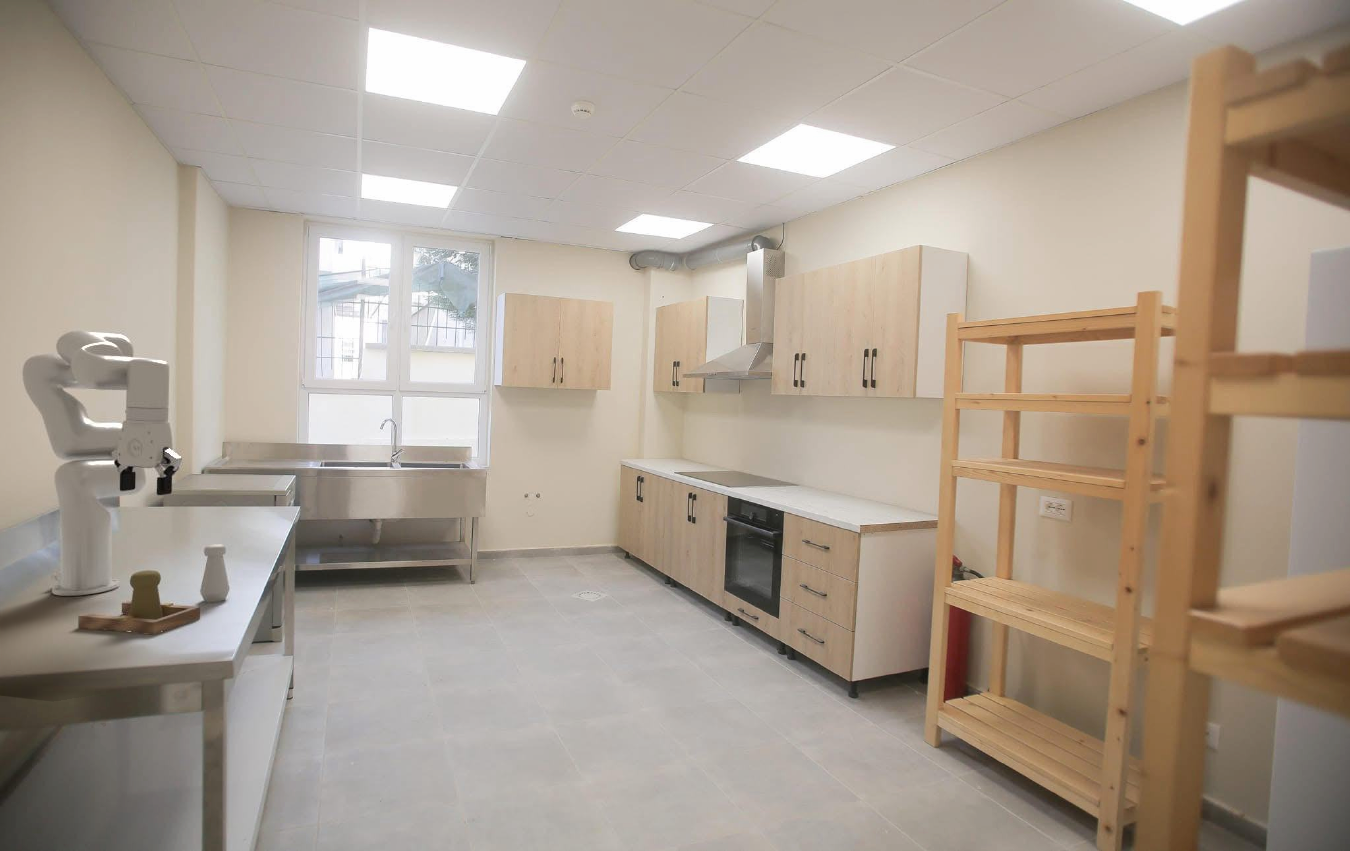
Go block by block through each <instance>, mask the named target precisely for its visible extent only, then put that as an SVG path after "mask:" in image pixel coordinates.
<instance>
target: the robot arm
mask: <svg viewBox="0 0 1350 851" xmlns="http://www.w3.org/2000/svg"><path fill="white" fill-rule="evenodd" d="M55 348H56V352H57V353H43V354H37V355H34V356H30V357H29V358H27V359H26V360H25V362H24V363H23V367H22V381H23V385H24V386H23V387H24V388H25V391H26V394H27V395H28V396H29V399H30V400H31V402H32V403H33V404H34V406H35V407H36V409H37V410H38V412H39V413H40V415H41V417H42V420H43V423H44V428H45V430H46V432H47V433H46V434H47V436H48V440H49V443H50V445H51V448H52V451H53V453H54V454H55V456H56V457H57V458H58V459H60V460H63V461H68V462H65V463H63V464H61V465H60V466H59V467H58V468H57V469H56V471H55V472H54V486H55V490H56V495H57V498H58V506H59V524H60V525H59V528H60V531H59V533H60V538H59V539H60V545H59V546H60V570H57V572H56V573H53V574H52V575H51V576H50V579H51V580H54V581H57V585H55V586H54V587H53V588H51V589H52V590H51V591H52V592H51V593H52V594H53V595H56V596H61V597H62V596H63V597H65V596H66V597H70V596H73V597H75V596H83V595H84V596H86V595H92V594H99V593H103V592H104V593H105V592H108V591H111V590H114V589H116V588H118V587H119V586H120V580H119V579H117V578H112V517H111V514H110V511H108V510H109V509H107V508H106V507H105V506H104V505H103V504H102V503H101V502H100V500H99V499H104V498H113V497H114V498H115V497H125V496H132V495H137V494H138V493H140V492H141V491H142V490H143V489H144V488H145V486H146V482H147V478H146V477H147V476H146V471H145V469H155V471H156V473H157V474H158V475H159V476H157V477H156V495H157V496H165V495H172V493H173V477H174V476H175V475H176V472H177V471H179V468H180V465H181V463H182V460H183V458H182V457H181V456H179V455H178V454H177V453H176V452H174V451H173V438H172V430H171V425H170V422H169V407H170V406H169V404H170V403H169V402H170V366H169V363H168V362H167V361H164V360H160V359H153V358H147V357H138V356H137V357H135V356H134V352H135V351H134V347H133V344H132V342H131V341H130V340H129V338H127V336H124V335H122V334H120V333H113V332H100V331H90V330H74V331H69V332H67V333H64V334H62V335H61V336H60V337H59V338H58V339H57V340H56V345H55ZM65 389H75V390H76V389H78V390H81V389H82V390H83V389H84V390H87V389H88V390H99V391H100V390H101V391H109V390H110V391H126V394H125V396H126V398H125V399H126V400H125V402H126V403H125V410H124V413H125V420H123V421H122V423H120V422H111V421H106V422H105V421H104V422H103V421H98V422H97V421H96V422H95V421H92V420H91V419H90V417H89V415H88V412H87V409H86V407H85V405H84V404H83V403H82V402H81V401H80V400H78V399H77V398H76V397H75V396H73V395H72V394H71V393H69V392H67V391H65Z"/></svg>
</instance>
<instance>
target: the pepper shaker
mask: <svg viewBox="0 0 1350 851" xmlns="http://www.w3.org/2000/svg"><path fill="white" fill-rule="evenodd" d="M161 579H162V576H161V574H160V572H159V571H156V570H150V569H149V570H142V571H137V572H135V573H133V574H132V575H131V577H130V579H129V584H130V587H131V588H132V596H131V600H130V601H131V608H130V614H129V615H128V616H133V618H142V619H153V620H157V619H160V618H163V616H162V610H161V604H162V603H161V598H160V593H159V587H158V586H159V585H160V583H161Z"/></svg>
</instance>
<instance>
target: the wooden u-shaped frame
mask: <svg viewBox="0 0 1350 851" xmlns="http://www.w3.org/2000/svg"><path fill="white" fill-rule="evenodd" d="M131 601H132V600H127V601H124V602H121V614H122V613H123V614H122V616H118V615H107V614H106V615H105V614H95V613H94V614H93V613H82V614H79V615H78V616H77V623H78V625H77V626H78V627H79V628H78V627H77V628H78V629H86V628H88V629H89V630H97V629H106V630H105V631H108V630H115V631H114V632H119V631H131V632H137V633H136V634H140V633H149V634H148V635H151V634H155V635H158V634H160V632H161V631H164V632H166V631H165V630H167V631H169V630H172V629H174V628H173V627H175V628H177V626H178V627H180V626H183V625H185V623H186V624H189V623H191V622H190V621H192V622H194V621H197V620H199V619H201V606H193V605H192V606H191V605H179V604H174V603H171V602H163V603H160V604H161V610H162V616H163V618H160V619H157V620H153V619H142V618H133V616H129V615H125V614H130V608H131ZM196 619H197V620H196ZM188 622H189V623H188ZM182 624H183V625H182ZM179 625H180V626H179ZM171 628H172V629H171ZM168 629H169V630H168ZM157 633H158V634H157ZM161 633H162V632H161Z"/></svg>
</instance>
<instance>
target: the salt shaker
mask: <svg viewBox="0 0 1350 851" xmlns="http://www.w3.org/2000/svg"><path fill="white" fill-rule="evenodd" d="M226 552H227V548H226V546H225V545H224V544H220V543H217V544H216V543H215V544H210V545H206V546H205V547H204V548H203V554H204V556H206V557H207V559H206V563H205V568H204V571H203V576H202V582H201V585H200V590H199V592H200V593H199V594H200V595H201V597H202V599H203V601H204V602H205V603H211V602H212V603H218V602H222V600H223V601H224V600H227V597H228V595H229V592H230V589H231V588H230V585H229V584H230V583H229V579H228V573H227V570H226V565H225V564H226V563H225V558H224V555H226Z"/></svg>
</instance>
